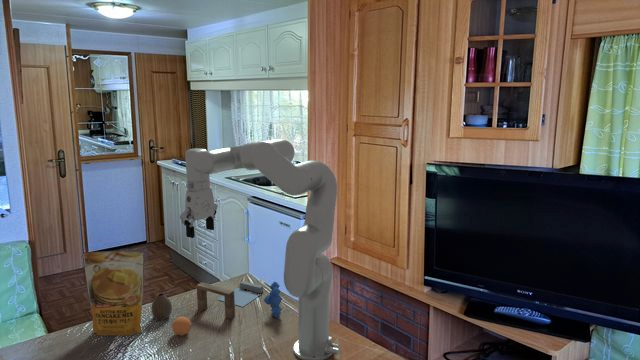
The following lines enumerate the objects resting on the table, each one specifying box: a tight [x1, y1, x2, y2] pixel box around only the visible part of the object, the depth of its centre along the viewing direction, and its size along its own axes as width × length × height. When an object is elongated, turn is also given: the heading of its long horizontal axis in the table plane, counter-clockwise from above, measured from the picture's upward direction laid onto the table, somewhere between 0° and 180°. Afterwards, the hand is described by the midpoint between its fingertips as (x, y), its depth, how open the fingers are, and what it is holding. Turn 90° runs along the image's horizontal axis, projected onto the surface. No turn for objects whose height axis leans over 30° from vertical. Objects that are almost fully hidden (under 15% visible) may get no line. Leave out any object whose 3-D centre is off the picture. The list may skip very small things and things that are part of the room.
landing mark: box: [217, 287, 261, 308], centre depth 178 cm, size 12×12×1 cm
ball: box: [171, 316, 192, 336], centre depth 151 cm, size 6×6×6 cm
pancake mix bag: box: [81, 250, 146, 337], centre depth 150 cm, size 7×19×28 cm, turn 92°
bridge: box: [196, 281, 236, 320], centre depth 165 cm, size 3×15×10 cm, turn 62°
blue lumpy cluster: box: [263, 281, 283, 318], centre depth 164 cm, size 12×7×12 cm, turn 12°
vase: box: [150, 292, 173, 321], centre depth 162 cm, size 7×7×9 cm
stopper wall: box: [239, 280, 264, 294], centre depth 184 cm, size 10×2×2 cm, turn 62°
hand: (200, 233), depth 157 cm, fingers open, 9 cm apart
